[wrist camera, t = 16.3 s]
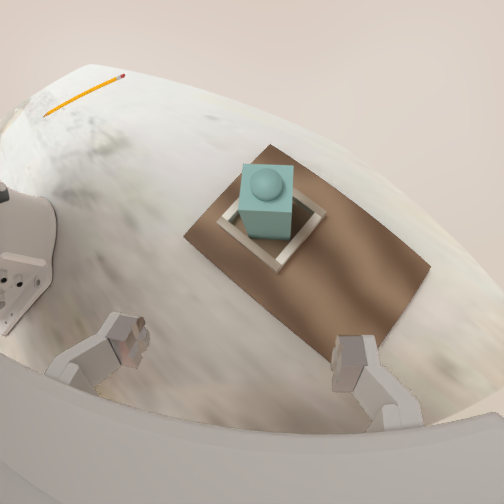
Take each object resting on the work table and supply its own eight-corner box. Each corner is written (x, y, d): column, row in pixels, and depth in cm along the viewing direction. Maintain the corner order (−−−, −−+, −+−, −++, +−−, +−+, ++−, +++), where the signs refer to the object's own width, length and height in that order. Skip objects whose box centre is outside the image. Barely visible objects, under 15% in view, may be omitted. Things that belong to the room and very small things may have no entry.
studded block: (290, 240, 29) (291, 208, 21) (249, 238, 29) (236, 205, 21) (291, 202, 30) (293, 160, 22) (252, 201, 30) (241, 158, 22)
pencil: (125, 78, 41) (123, 75, 40) (42, 119, 42) (40, 117, 41) (125, 75, 41) (123, 73, 40) (43, 116, 42) (41, 115, 41)
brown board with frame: (348, 376, 26) (354, 381, 24) (187, 240, 32) (179, 233, 29) (425, 269, 28) (436, 264, 25) (270, 151, 33) (269, 138, 31)
